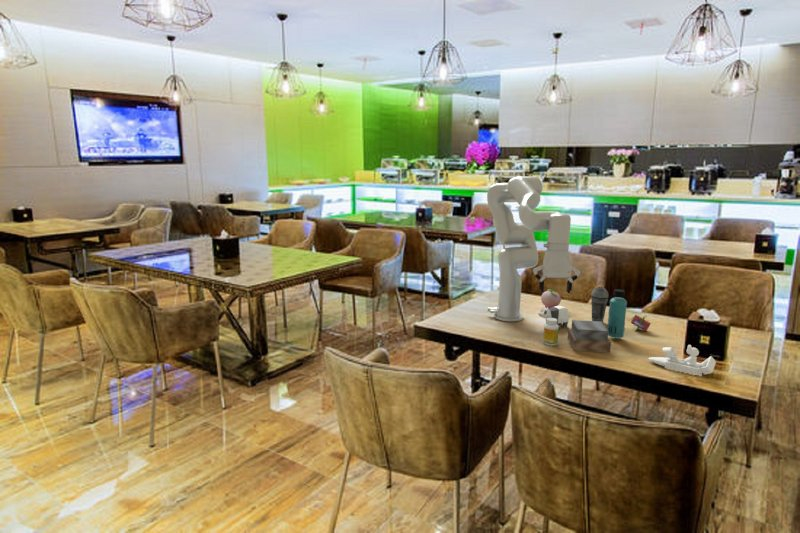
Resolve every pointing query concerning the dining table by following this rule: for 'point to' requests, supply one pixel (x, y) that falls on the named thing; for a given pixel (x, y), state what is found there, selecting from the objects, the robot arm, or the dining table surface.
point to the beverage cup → (599, 303)
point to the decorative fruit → (550, 298)
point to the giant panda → (556, 314)
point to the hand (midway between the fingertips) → (554, 291)
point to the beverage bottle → (617, 315)
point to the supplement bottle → (551, 332)
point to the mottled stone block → (589, 336)
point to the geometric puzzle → (640, 323)
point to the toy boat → (685, 362)
